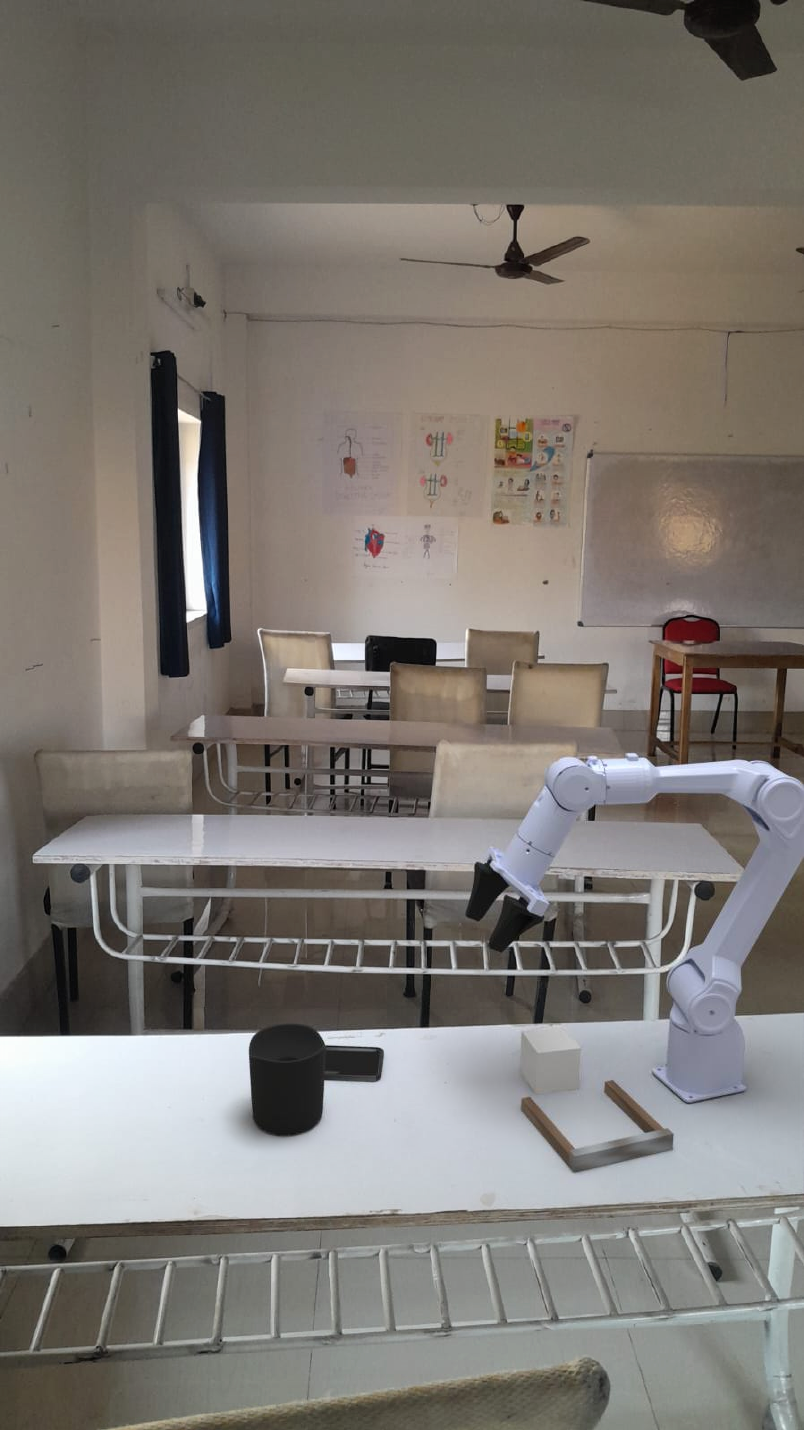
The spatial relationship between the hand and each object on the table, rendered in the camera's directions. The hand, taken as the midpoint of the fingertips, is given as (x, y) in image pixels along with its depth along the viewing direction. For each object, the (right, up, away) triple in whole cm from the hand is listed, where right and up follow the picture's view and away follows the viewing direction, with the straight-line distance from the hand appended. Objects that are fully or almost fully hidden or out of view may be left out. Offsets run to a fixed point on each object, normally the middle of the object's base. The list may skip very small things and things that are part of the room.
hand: (483, 933), depth 125 cm
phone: (-21, -20, +8) cm, 30 cm away
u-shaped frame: (+13, -23, -5) cm, 27 cm away
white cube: (+9, -21, +5) cm, 23 cm away
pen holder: (-25, -22, -4) cm, 33 cm away
